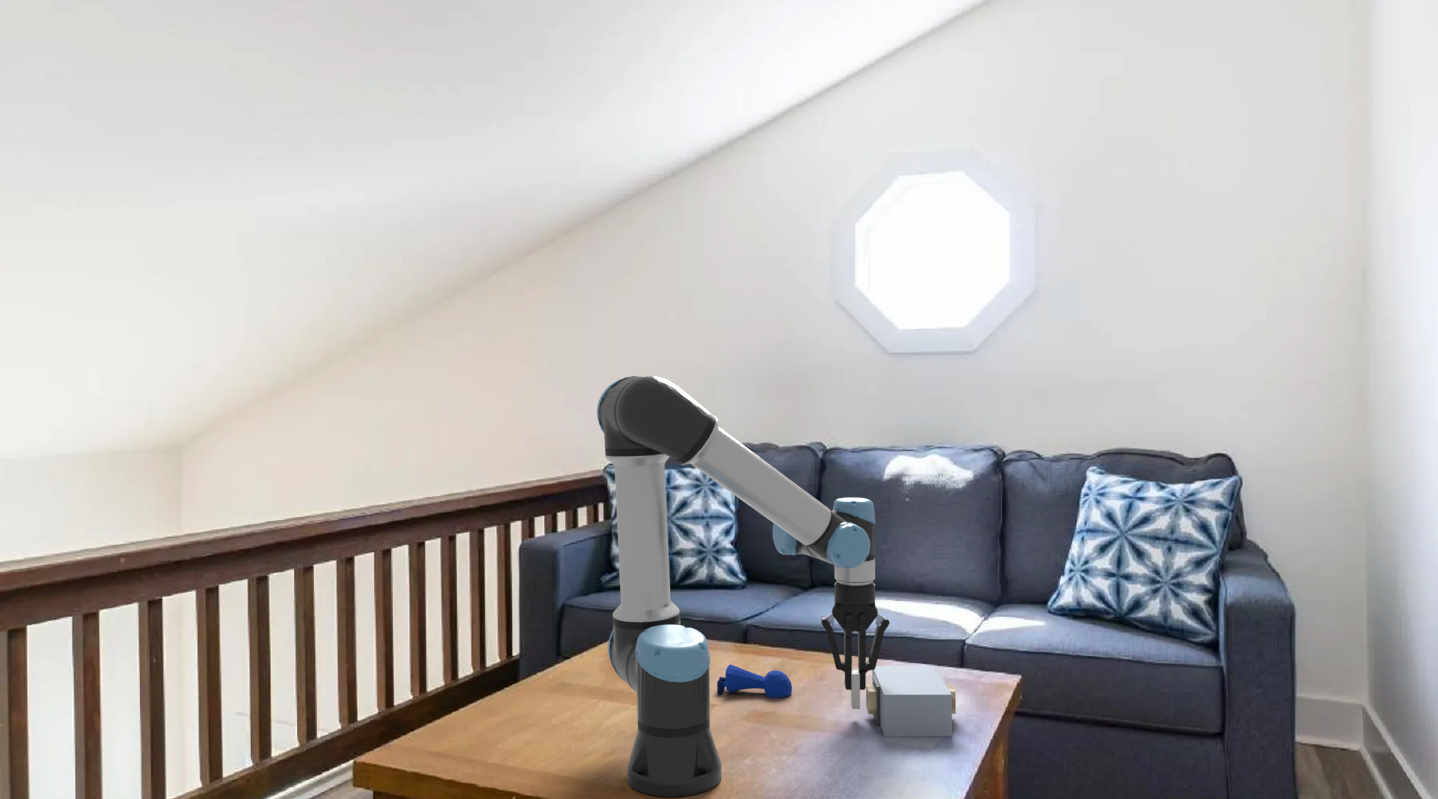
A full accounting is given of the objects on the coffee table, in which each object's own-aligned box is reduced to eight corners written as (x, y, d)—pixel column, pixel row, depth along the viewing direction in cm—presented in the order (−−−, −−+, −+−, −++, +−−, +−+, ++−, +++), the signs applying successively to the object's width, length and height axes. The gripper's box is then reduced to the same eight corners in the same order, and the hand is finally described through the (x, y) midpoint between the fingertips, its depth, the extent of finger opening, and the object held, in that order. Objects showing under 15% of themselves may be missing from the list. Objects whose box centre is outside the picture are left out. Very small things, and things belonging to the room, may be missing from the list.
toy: (716, 700, 204) (790, 700, 202) (714, 669, 204) (788, 669, 202) (722, 690, 211) (793, 690, 208) (720, 660, 211) (792, 660, 208)
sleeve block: (952, 736, 180) (951, 694, 180) (880, 736, 180) (880, 694, 180) (934, 703, 198) (933, 665, 198) (869, 703, 198) (869, 665, 198)
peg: (955, 714, 187) (955, 691, 187) (868, 714, 187) (868, 691, 187) (951, 706, 191) (951, 684, 191) (866, 706, 192) (865, 684, 191)
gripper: (887, 577, 192) (887, 700, 193) (818, 577, 193) (819, 700, 193) (892, 585, 185) (892, 713, 185) (820, 585, 185) (821, 713, 186)
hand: (855, 706), depth 189 cm, fingers closed
